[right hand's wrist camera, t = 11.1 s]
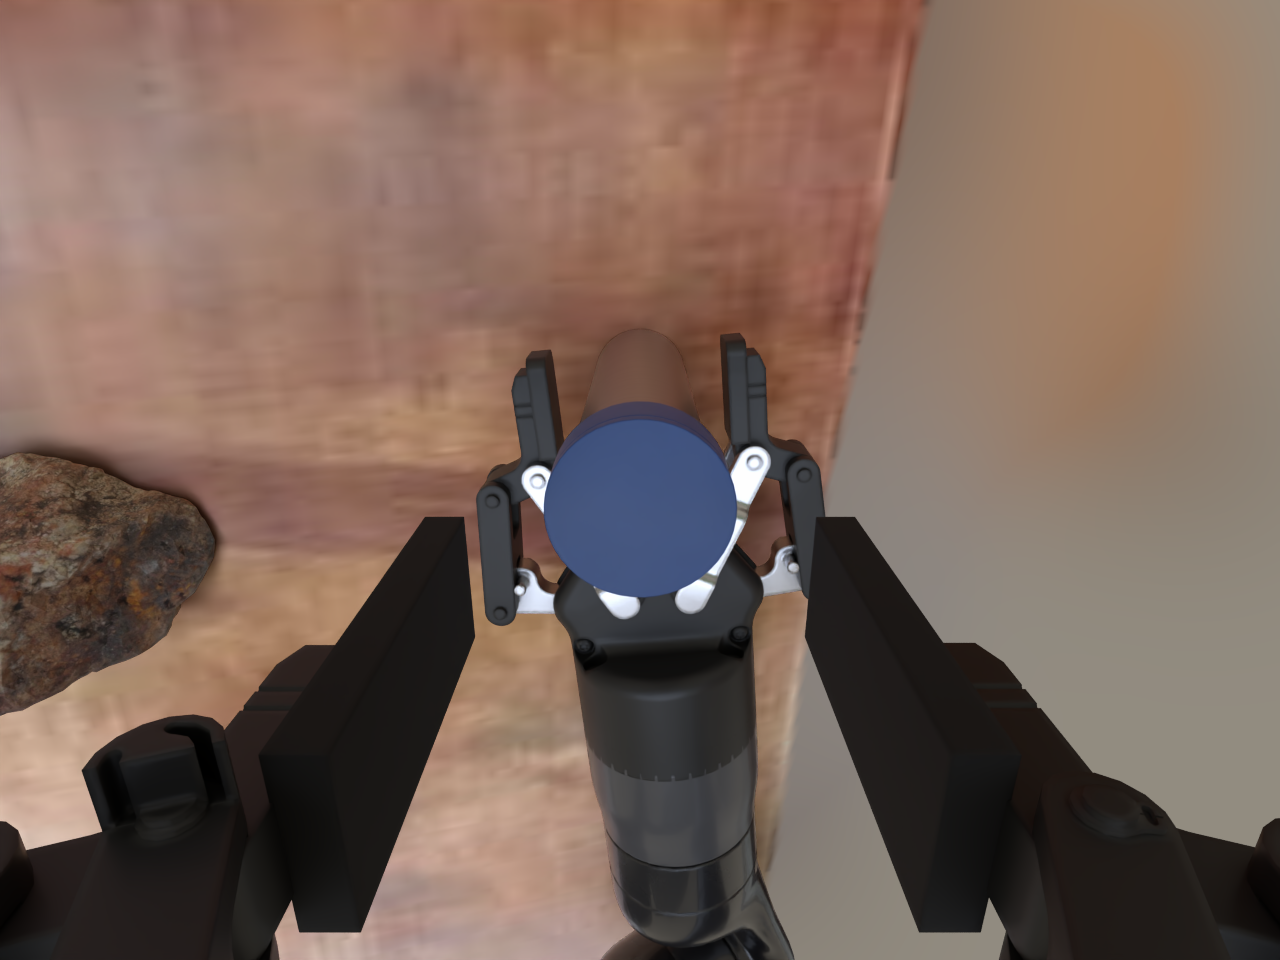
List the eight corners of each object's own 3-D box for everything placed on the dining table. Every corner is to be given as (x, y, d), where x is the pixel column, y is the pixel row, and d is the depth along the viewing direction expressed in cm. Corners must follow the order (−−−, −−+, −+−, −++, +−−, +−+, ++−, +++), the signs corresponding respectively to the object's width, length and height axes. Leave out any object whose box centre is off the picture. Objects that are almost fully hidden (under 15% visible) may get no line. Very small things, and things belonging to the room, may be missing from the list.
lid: (762, 450, 19) (773, 474, 17) (676, 592, 20) (679, 626, 19) (599, 368, 18) (596, 383, 16) (522, 521, 20) (512, 550, 18)
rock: (224, 644, 39) (226, 473, 35) (131, 761, 31) (123, 555, 27) (-81, 604, 36) (-110, 418, 33) (-267, 720, 28) (-331, 490, 25)
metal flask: (700, 354, 32) (750, 473, 18) (658, 430, 34) (672, 600, 19) (620, 312, 32) (604, 400, 17) (581, 391, 33) (534, 537, 18)
